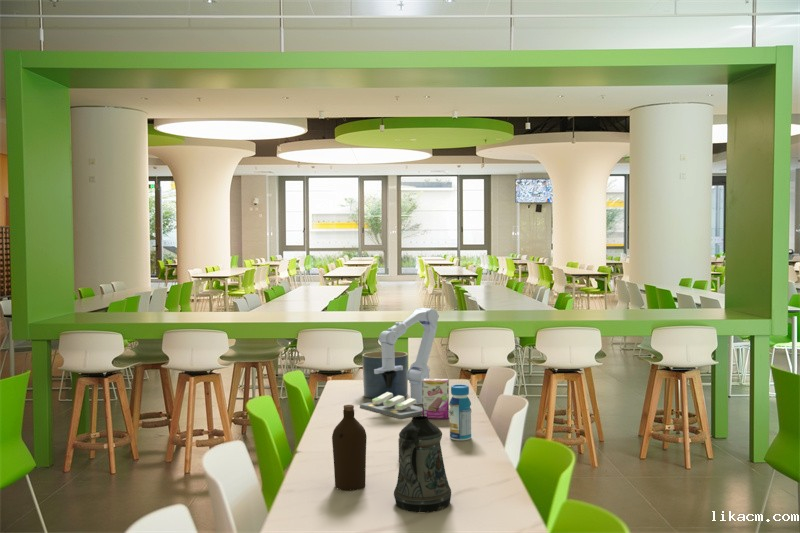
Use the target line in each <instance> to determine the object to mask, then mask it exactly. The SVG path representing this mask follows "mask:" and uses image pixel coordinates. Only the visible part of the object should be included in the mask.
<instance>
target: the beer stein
mask: <svg viewBox="0 0 800 533" xmlns="http://www.w3.org/2000/svg"><path fill="white" fill-rule="evenodd" d="M399 437H400V440H401V442H402V446H401V448H400V451H399V450H398V462H399V464H398V473H397V474H398V475H397V482H396V485H395V488H394V491H393V498H394V499H395V505H396V507H397V508H399V509H400V510H402V511H407V512H411V513H418V512H425V513H434V512H433V511H435V512H440V511H442V510H445V509H446V508H448V507H449V506H450V504H451V498H452V489H451V486H450V485H449V481H448V478H447V474H446V469H445V464H444V463H445V462H444V458H443V453H442V446H441V440H442V439H443V438H442V437H443V432H442V430H441V429H440V428H439V427H438V426H436V425H435V424H434V423H433V422H432V421H430V419H428V418H427V417H426V416H423V415H417V416H412V417H411V420H410V421H409V423H407V424H406V425H405V426H404V427H403V428H401V430H400V432H399V433H398V438H399Z"/></svg>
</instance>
